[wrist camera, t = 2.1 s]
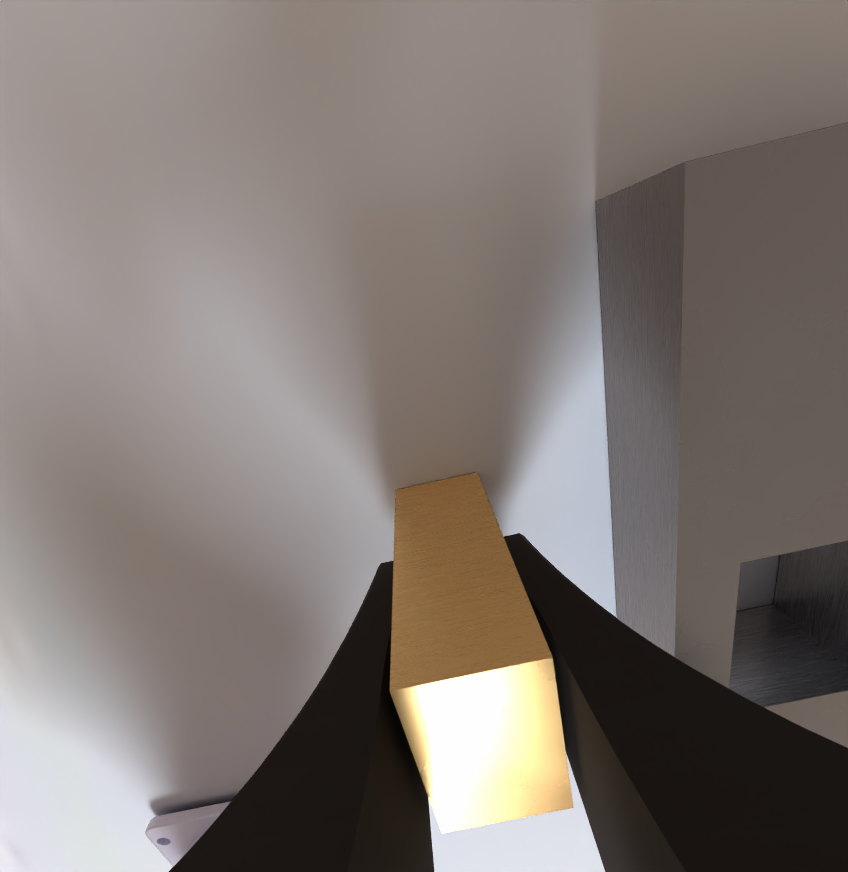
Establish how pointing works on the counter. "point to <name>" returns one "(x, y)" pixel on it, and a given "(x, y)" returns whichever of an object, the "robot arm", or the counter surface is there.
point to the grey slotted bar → (734, 415)
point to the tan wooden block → (471, 663)
